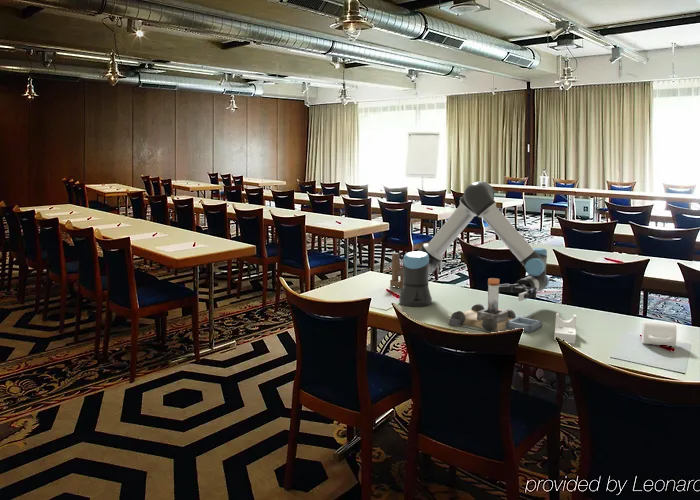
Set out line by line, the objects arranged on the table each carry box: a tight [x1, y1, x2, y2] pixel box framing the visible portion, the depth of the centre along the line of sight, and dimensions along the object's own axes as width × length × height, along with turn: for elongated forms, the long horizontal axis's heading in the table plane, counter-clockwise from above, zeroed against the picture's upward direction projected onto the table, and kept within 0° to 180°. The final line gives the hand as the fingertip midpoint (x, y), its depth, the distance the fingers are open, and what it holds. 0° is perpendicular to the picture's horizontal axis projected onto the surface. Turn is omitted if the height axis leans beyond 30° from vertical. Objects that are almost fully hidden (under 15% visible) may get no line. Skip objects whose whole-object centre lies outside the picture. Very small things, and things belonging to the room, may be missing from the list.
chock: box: [448, 317, 462, 327], centre depth 218 cm, size 4×2×2 cm, turn 47°
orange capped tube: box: [487, 277, 501, 314], centre depth 217 cm, size 4×4×16 cm
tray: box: [505, 316, 543, 334], centre depth 214 cm, size 10×10×2 cm
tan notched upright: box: [389, 252, 403, 289], centre depth 284 cm, size 4×11×18 cm, turn 41°
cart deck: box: [450, 303, 517, 332], centre depth 221 cm, size 20×18×6 cm
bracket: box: [553, 312, 577, 345], centre depth 202 cm, size 13×7×8 cm, turn 158°
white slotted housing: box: [641, 320, 677, 348], centre depth 191 cm, size 12×10×8 cm
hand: (503, 294), depth 222 cm, fingers open, 13 cm apart
